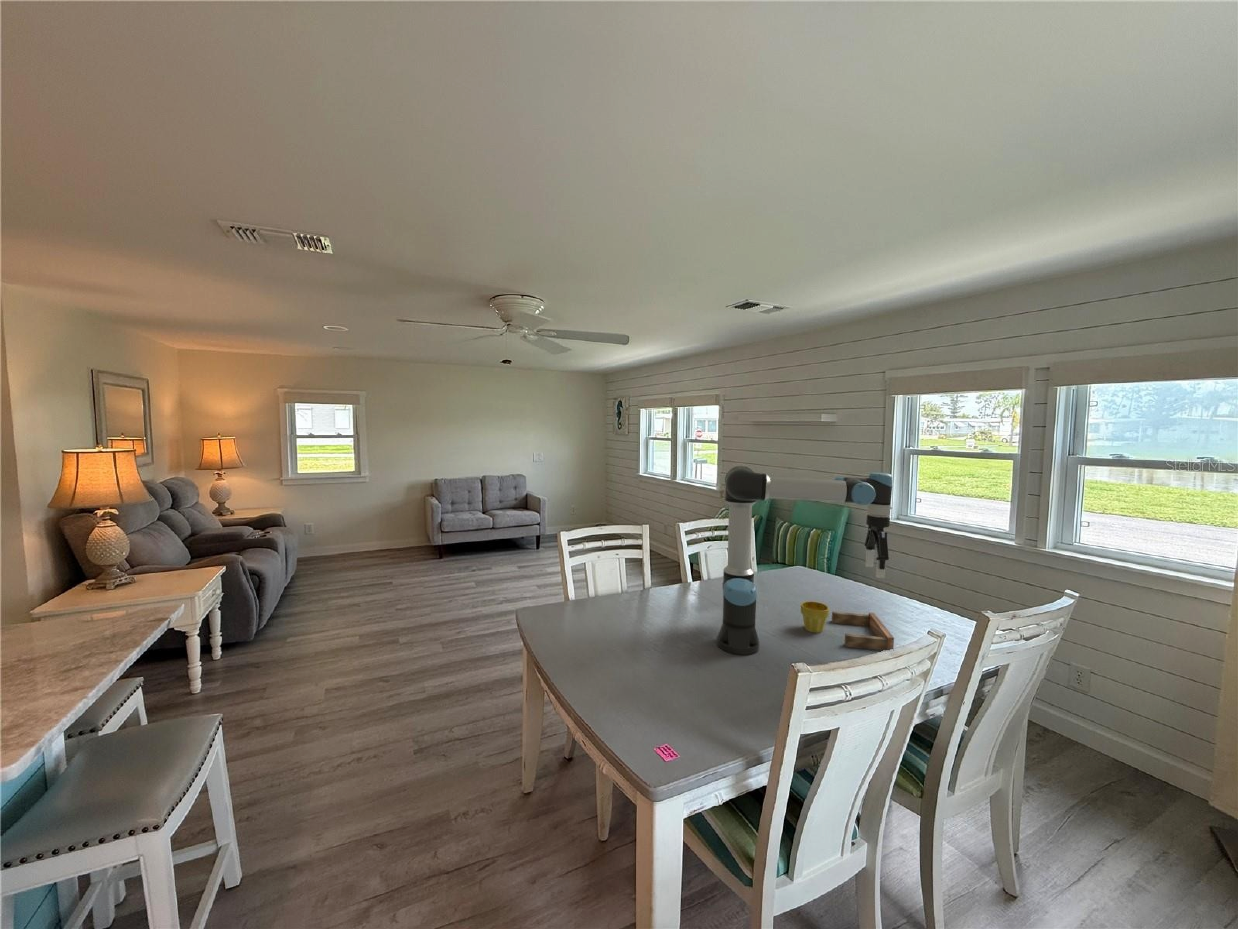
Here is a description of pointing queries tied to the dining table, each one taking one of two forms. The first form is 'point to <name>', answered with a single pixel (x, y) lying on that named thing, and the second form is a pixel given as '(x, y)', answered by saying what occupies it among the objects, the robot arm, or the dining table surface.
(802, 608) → the plant pot
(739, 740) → the dining table surface
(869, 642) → the docking bay
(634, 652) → the dining table surface
